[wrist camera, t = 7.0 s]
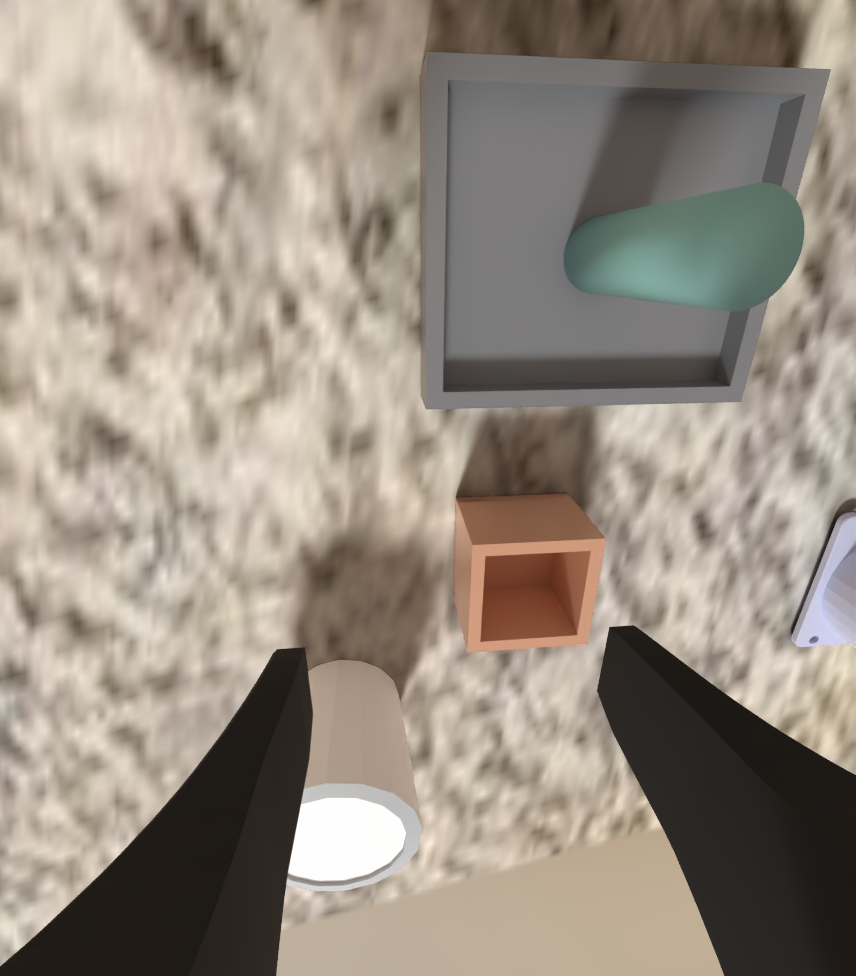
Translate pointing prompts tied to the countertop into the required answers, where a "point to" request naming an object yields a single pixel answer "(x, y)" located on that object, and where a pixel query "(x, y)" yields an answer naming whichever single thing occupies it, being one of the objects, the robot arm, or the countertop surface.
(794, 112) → the tray
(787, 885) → the robot arm
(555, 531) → the open box
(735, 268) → the pin
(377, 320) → the countertop surface
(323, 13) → the countertop surface
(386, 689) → the white short cylinder
